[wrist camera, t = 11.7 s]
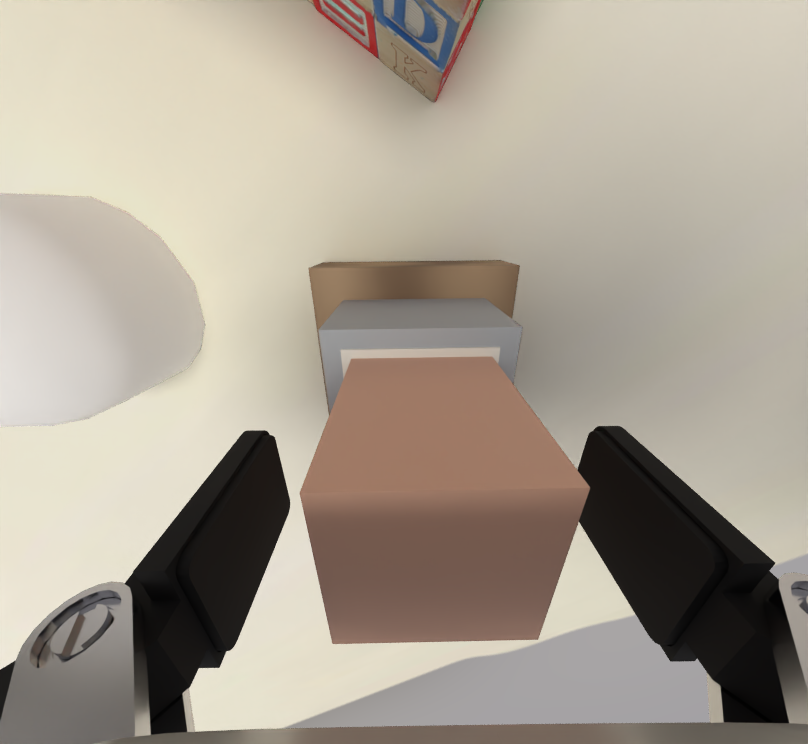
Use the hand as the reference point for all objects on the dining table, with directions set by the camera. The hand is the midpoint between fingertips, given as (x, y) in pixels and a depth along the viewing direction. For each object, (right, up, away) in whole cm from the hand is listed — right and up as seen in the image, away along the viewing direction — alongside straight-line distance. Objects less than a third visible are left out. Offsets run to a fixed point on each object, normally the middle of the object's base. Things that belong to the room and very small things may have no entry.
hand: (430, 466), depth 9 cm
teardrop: (-18, +7, +9) cm, 22 cm away
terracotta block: (0, +1, +3) cm, 3 cm away
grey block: (0, +3, +7) cm, 8 cm away
